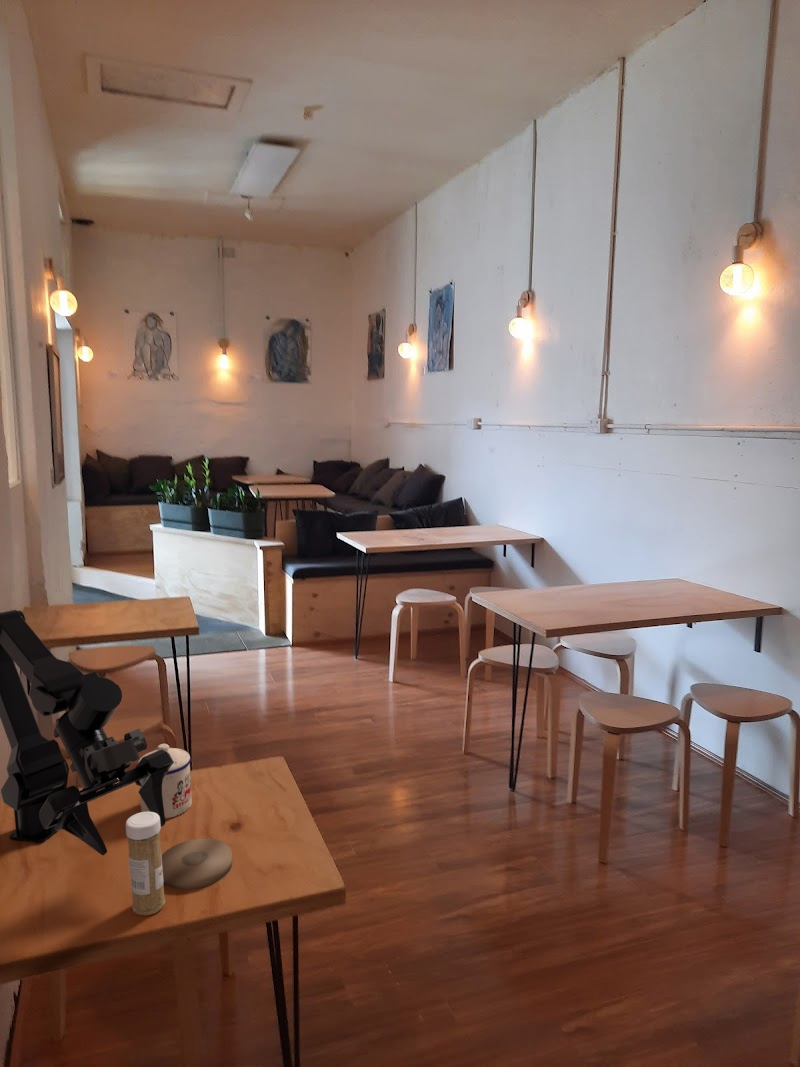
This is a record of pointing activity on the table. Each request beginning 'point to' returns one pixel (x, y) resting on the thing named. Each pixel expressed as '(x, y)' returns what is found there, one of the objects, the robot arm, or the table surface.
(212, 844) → the grey-brown round disc
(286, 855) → the table surface
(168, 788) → the cream ceramic jar
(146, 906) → the sprinkles bottle
